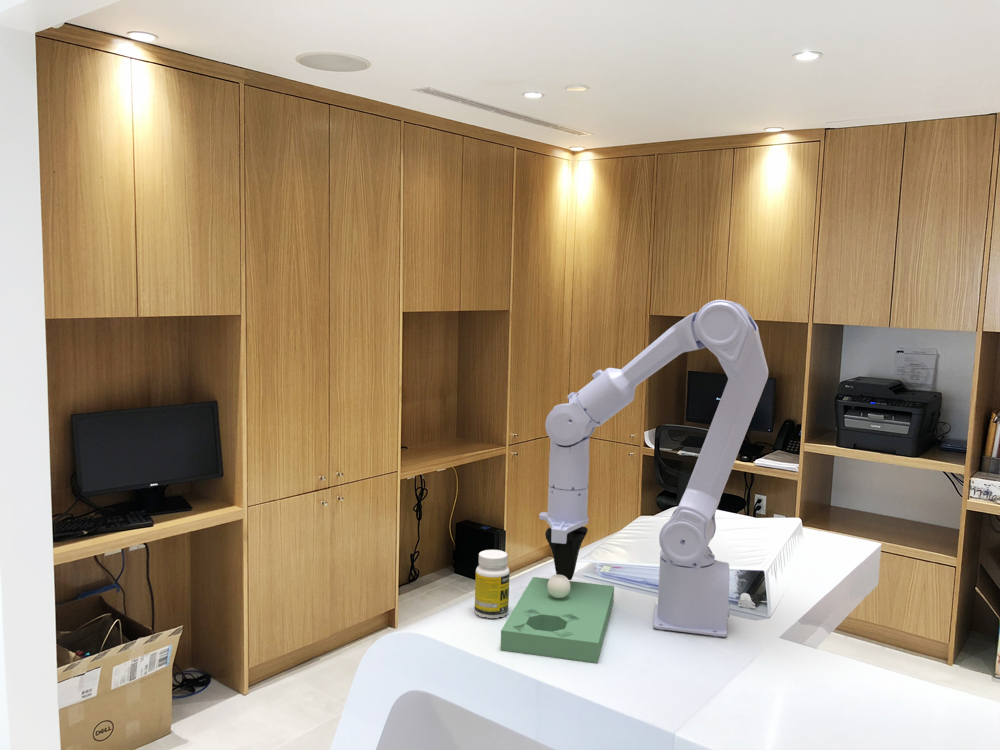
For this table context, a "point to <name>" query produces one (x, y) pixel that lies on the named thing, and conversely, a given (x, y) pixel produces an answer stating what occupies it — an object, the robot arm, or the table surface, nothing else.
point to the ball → (558, 586)
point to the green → (559, 621)
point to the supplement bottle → (492, 584)
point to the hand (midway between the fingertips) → (565, 578)
